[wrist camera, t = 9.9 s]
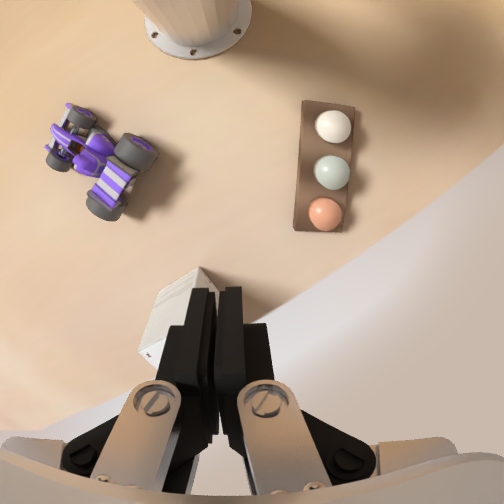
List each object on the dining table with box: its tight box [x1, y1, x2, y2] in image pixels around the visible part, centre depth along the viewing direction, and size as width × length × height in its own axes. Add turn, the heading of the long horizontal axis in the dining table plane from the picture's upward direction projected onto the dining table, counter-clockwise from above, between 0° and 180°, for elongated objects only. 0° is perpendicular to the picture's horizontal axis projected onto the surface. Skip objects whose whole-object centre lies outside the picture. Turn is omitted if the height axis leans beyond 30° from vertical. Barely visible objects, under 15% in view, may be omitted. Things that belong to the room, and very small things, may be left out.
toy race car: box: [45, 103, 159, 221], centre depth 29 cm, size 10×15×6 cm, turn 52°
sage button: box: [313, 155, 350, 190], centre depth 31 cm, size 4×4×2 cm
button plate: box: [293, 100, 355, 232], centre depth 33 cm, size 16×6×2 cm, turn 178°
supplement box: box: [138, 267, 219, 370], centre depth 35 cm, size 7×7×13 cm
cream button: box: [315, 110, 351, 143], centre depth 30 cm, size 4×4×2 cm
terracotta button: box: [307, 196, 342, 231], centre depth 34 cm, size 4×4×2 cm
